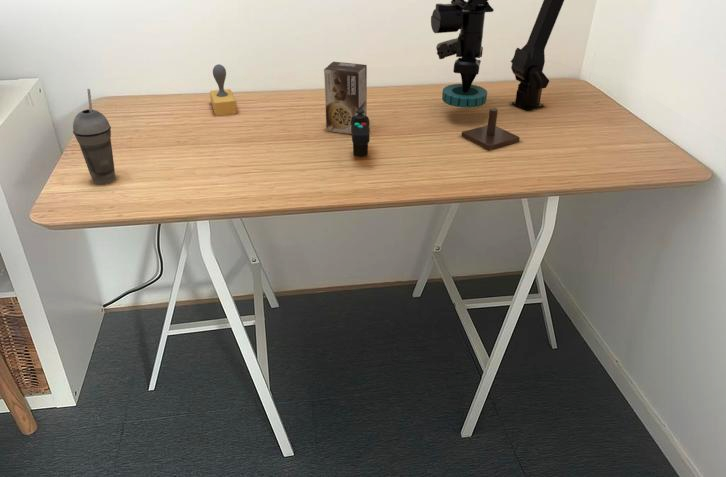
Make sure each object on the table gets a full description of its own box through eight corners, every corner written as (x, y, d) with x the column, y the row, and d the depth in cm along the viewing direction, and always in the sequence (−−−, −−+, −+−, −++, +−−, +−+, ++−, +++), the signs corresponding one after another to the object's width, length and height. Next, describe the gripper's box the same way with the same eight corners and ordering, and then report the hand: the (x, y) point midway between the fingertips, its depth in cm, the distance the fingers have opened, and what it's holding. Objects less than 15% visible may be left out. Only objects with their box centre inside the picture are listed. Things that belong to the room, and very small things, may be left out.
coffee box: (367, 126, 159) (368, 64, 150) (359, 136, 153) (359, 72, 145) (334, 122, 161) (333, 60, 152) (325, 131, 156) (323, 67, 147)
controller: (368, 146, 148) (369, 106, 143) (370, 168, 138) (370, 126, 133) (350, 146, 148) (350, 106, 143) (351, 168, 138) (350, 126, 133)
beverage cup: (91, 172, 135) (69, 83, 124) (125, 171, 136) (106, 82, 125) (81, 188, 129) (57, 95, 118) (117, 187, 130) (96, 95, 119)
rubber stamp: (211, 103, 172) (205, 60, 166) (232, 101, 174) (227, 58, 167) (215, 115, 164) (209, 71, 158) (237, 113, 166) (232, 69, 159)
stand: (491, 128, 159) (494, 99, 154) (519, 141, 151) (523, 111, 147) (461, 136, 154) (464, 106, 150) (488, 150, 147) (492, 119, 143)
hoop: (465, 89, 168) (466, 81, 167) (495, 102, 160) (496, 93, 159) (433, 97, 162) (433, 88, 161) (462, 111, 155) (463, 101, 153)
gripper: (443, 20, 165) (439, 77, 173) (435, 37, 150) (431, 99, 158) (485, 22, 163) (479, 80, 171) (481, 40, 148) (475, 103, 156)
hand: (465, 90), depth 164 cm, fingers closed on hoop, 2 cm apart
